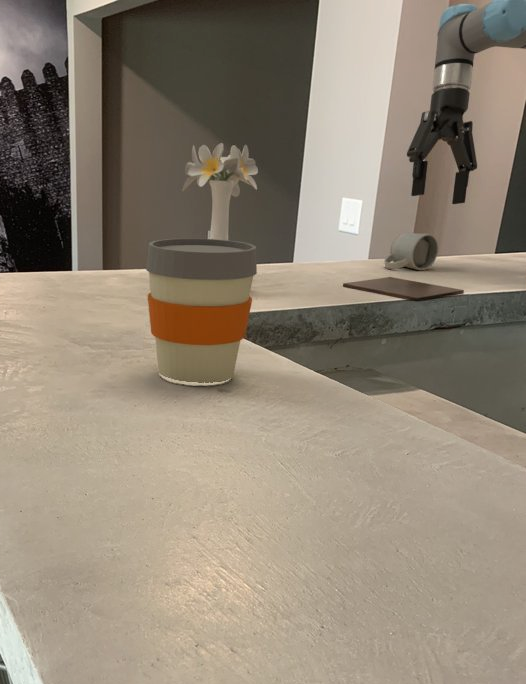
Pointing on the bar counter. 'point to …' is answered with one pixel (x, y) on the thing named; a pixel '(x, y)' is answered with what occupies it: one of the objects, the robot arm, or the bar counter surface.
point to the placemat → (403, 288)
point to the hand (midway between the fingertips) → (438, 199)
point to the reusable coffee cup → (199, 305)
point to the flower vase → (221, 180)
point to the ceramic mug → (412, 251)
